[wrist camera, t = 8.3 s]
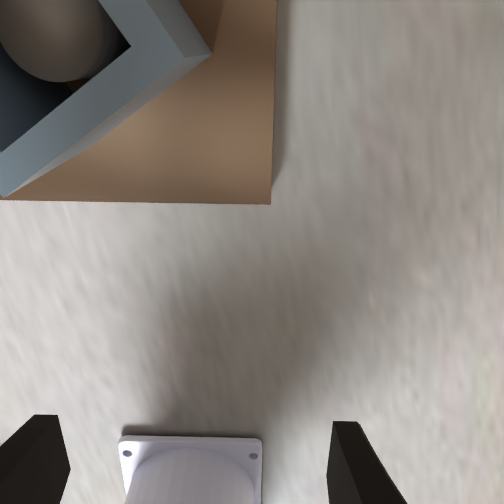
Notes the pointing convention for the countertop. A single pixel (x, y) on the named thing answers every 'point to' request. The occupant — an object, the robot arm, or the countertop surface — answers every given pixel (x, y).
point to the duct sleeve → (92, 91)
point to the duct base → (159, 105)
